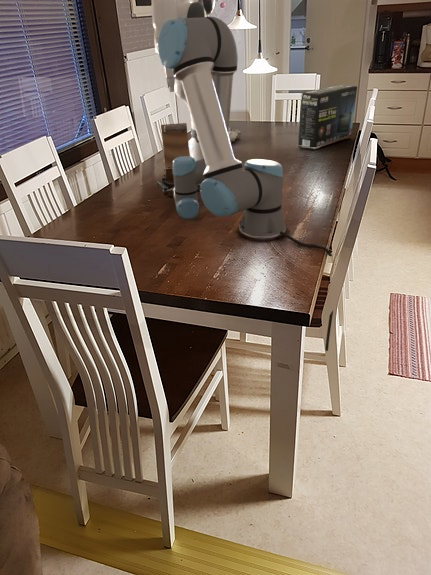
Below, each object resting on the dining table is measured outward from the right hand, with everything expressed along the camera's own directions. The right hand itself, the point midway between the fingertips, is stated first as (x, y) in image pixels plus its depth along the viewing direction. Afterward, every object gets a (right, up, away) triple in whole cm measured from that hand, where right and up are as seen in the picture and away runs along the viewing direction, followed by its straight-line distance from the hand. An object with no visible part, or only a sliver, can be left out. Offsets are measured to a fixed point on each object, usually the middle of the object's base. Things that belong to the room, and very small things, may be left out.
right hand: (178, 176), depth 182 cm
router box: (+73, +33, +62) cm, 102 cm away
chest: (0, -4, +7) cm, 8 cm away
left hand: (-1, +28, -16) cm, 32 cm away
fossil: (+20, +38, +75) cm, 86 cm away
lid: (0, +10, -6) cm, 12 cm away
